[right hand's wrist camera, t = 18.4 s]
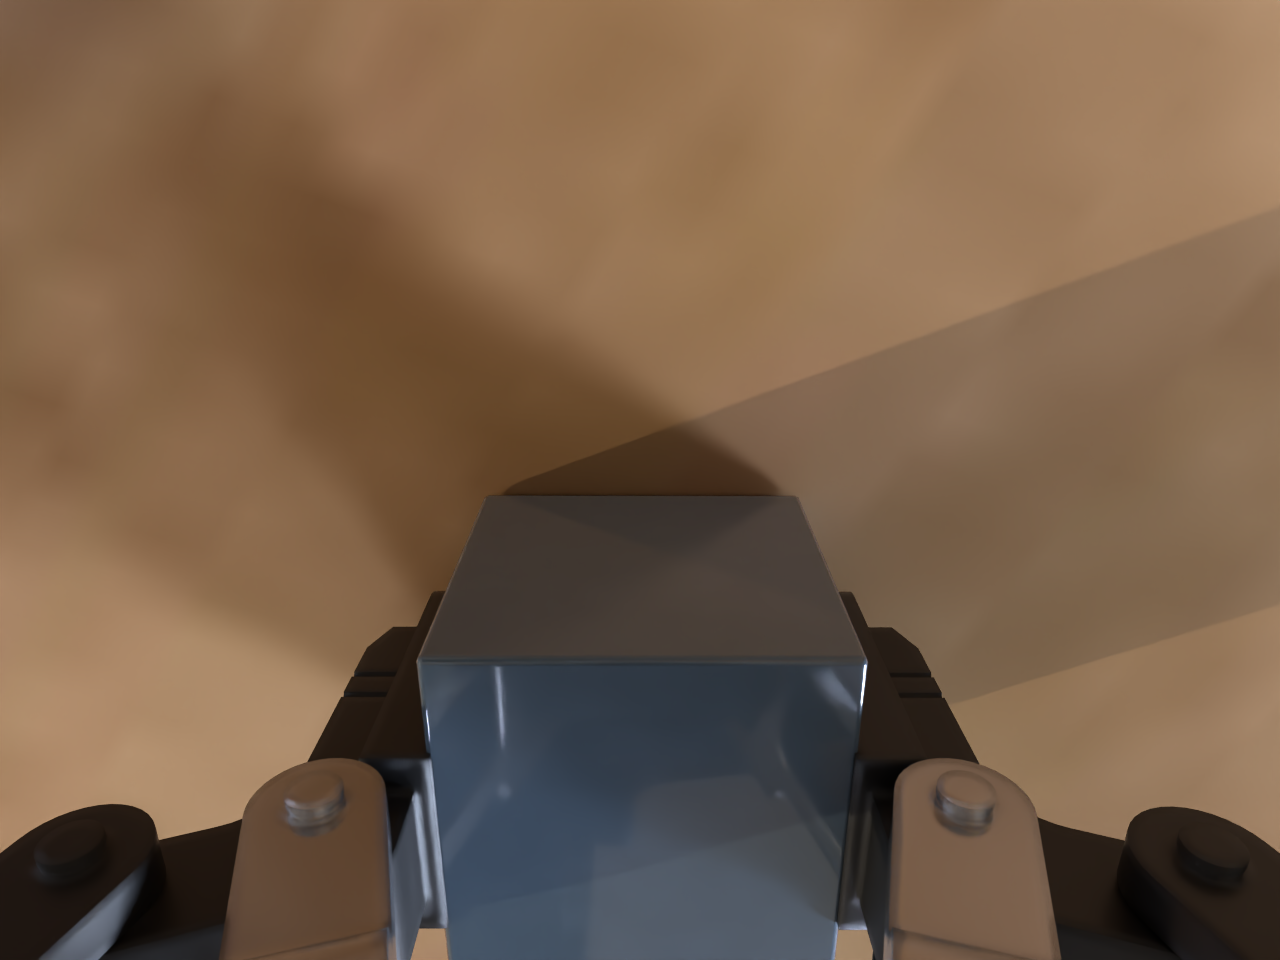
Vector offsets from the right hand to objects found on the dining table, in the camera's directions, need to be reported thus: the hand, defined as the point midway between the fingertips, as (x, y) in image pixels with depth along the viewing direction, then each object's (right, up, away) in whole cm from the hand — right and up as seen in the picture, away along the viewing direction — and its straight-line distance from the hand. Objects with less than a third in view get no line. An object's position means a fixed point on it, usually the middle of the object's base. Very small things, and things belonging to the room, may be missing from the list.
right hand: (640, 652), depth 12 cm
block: (0, 0, 0) cm, 0 cm away
